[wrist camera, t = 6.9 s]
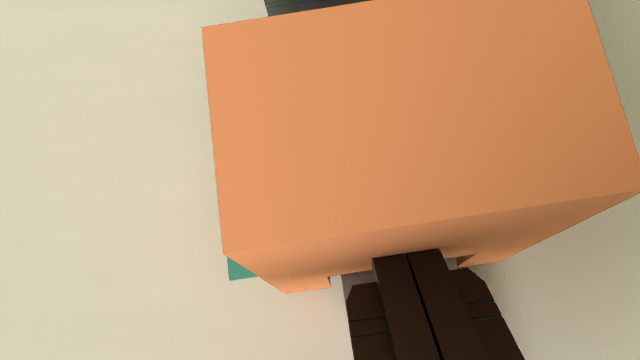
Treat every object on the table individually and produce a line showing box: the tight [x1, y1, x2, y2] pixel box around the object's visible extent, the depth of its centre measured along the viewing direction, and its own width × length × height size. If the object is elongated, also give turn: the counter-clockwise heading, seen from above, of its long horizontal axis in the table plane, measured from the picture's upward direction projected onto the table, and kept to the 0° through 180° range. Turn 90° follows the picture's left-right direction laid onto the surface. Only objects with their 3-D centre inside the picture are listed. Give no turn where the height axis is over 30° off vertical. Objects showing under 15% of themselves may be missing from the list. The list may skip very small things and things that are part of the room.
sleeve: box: [201, 0, 640, 294], centre depth 13 cm, size 4×7×9 cm, turn 99°
